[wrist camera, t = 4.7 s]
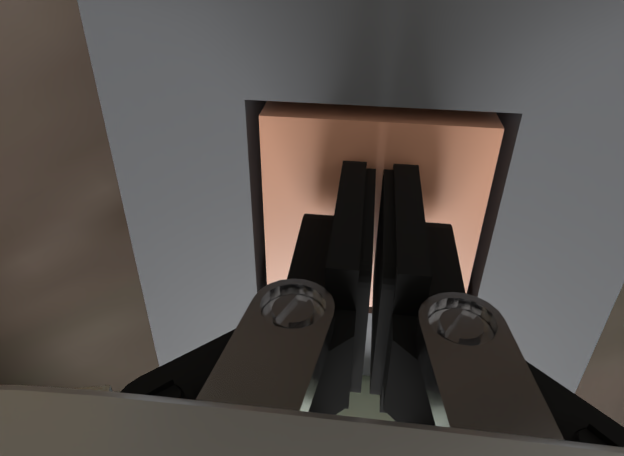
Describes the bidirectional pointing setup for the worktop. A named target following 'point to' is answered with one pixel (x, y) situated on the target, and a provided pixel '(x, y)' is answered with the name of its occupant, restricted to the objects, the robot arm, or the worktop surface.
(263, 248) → the key panel
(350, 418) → the robot arm
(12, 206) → the worktop surface
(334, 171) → the terracotta key
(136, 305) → the worktop surface
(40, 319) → the worktop surface
